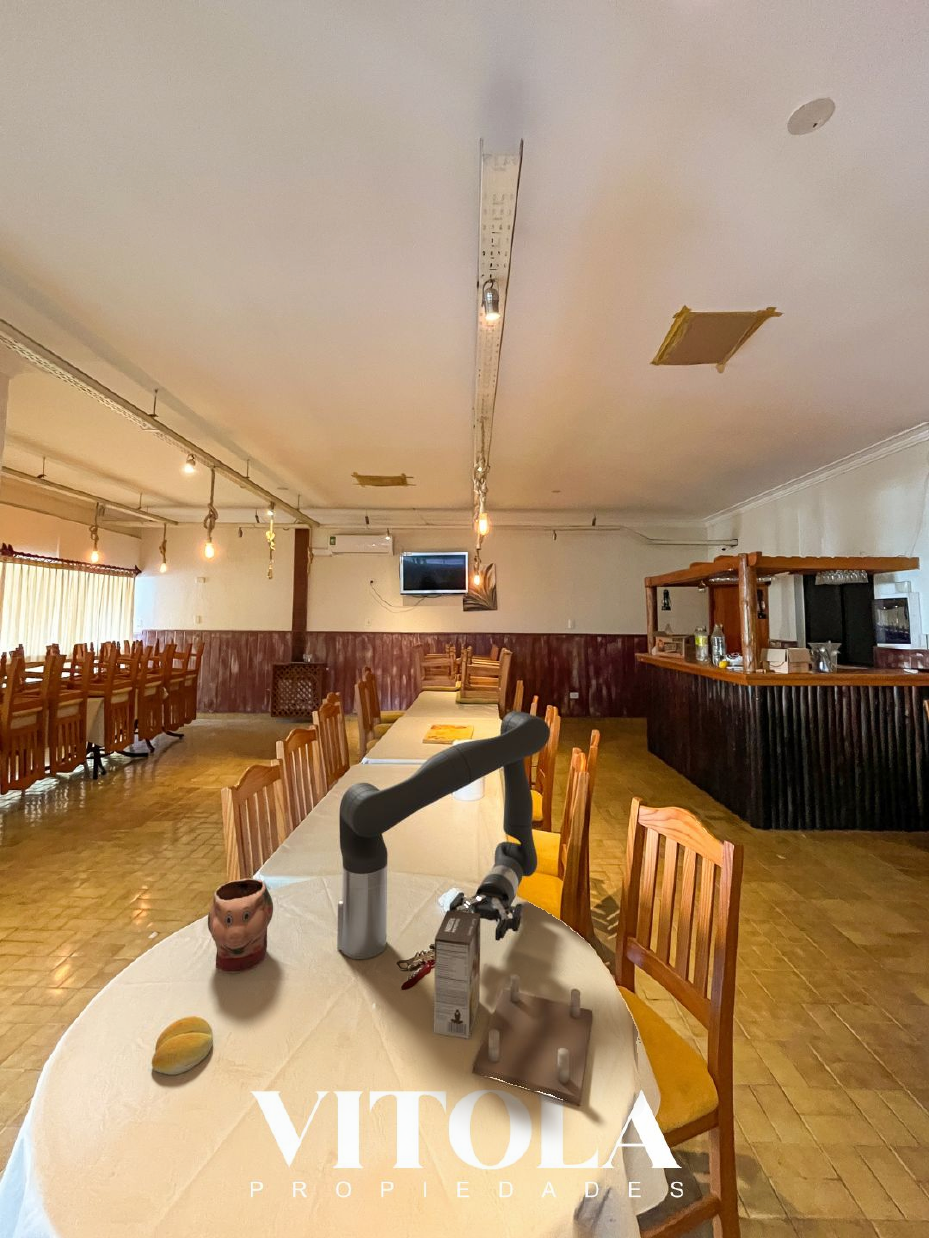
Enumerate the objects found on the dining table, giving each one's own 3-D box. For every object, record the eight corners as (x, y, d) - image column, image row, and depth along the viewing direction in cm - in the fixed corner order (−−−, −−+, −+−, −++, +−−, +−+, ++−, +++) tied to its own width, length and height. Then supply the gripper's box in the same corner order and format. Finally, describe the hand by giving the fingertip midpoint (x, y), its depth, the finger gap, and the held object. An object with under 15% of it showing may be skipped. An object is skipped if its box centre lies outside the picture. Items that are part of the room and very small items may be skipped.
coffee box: (445, 995, 98) (447, 908, 98) (480, 1001, 97) (481, 912, 97) (432, 1033, 89) (434, 937, 89) (470, 1040, 88) (472, 942, 88)
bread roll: (148, 1084, 79) (148, 1057, 79) (159, 1039, 88) (159, 1015, 88) (210, 1069, 82) (210, 1043, 82) (215, 1026, 91) (215, 1003, 91)
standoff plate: (472, 1072, 82) (473, 1038, 82) (503, 994, 99) (503, 966, 99) (579, 1105, 77) (580, 1069, 77) (592, 1017, 94) (592, 987, 94)
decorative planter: (208, 933, 116) (209, 869, 116) (269, 921, 121) (269, 859, 121) (205, 994, 98) (206, 917, 98) (276, 977, 103) (277, 904, 103)
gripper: (467, 867, 120) (440, 904, 105) (530, 878, 115) (512, 918, 100) (466, 901, 120) (440, 942, 105) (529, 913, 116) (511, 958, 100)
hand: (475, 930), depth 102 cm, fingers open, 8 cm apart
